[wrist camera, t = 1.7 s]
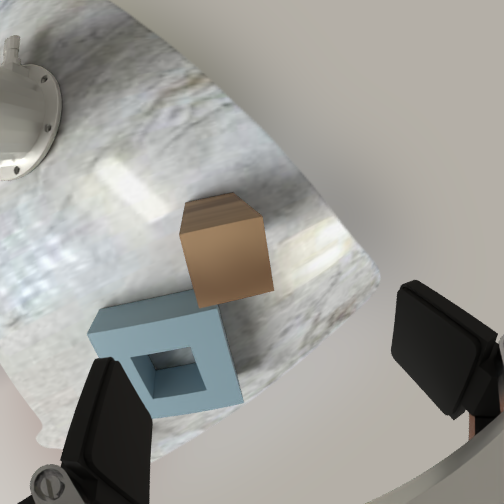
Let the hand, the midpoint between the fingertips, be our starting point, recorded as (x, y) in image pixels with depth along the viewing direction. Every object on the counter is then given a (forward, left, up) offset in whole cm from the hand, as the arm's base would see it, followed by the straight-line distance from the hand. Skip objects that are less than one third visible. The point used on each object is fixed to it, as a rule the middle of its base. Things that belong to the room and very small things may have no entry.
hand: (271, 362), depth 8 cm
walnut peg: (0, 0, -20) cm, 20 cm away
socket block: (+13, -8, -20) cm, 25 cm away
